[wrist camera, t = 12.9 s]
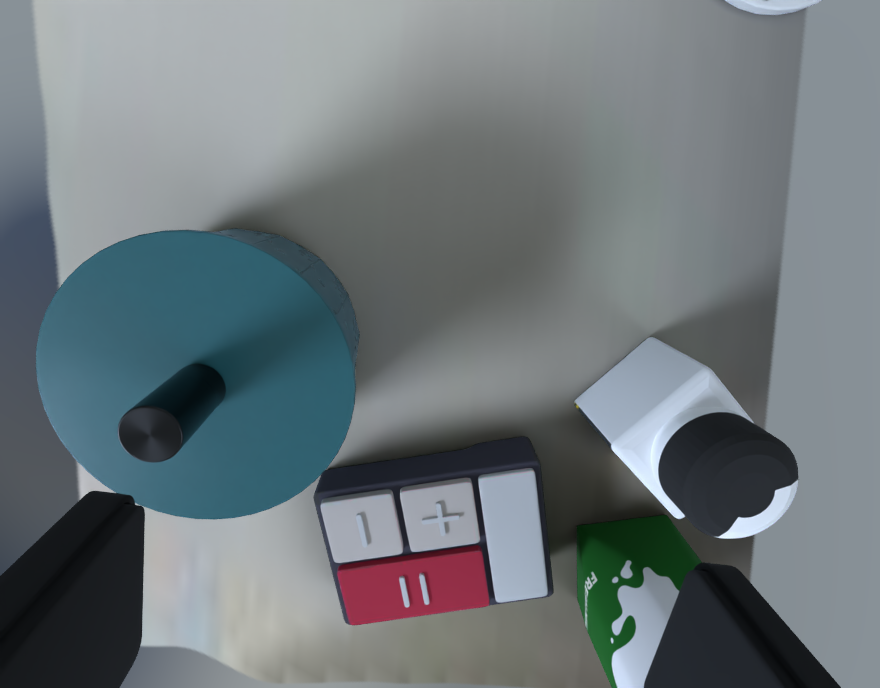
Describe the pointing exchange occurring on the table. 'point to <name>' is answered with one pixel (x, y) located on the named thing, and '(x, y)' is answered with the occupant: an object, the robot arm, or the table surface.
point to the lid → (196, 374)
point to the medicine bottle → (691, 442)
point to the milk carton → (630, 590)
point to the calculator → (436, 532)
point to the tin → (308, 276)
